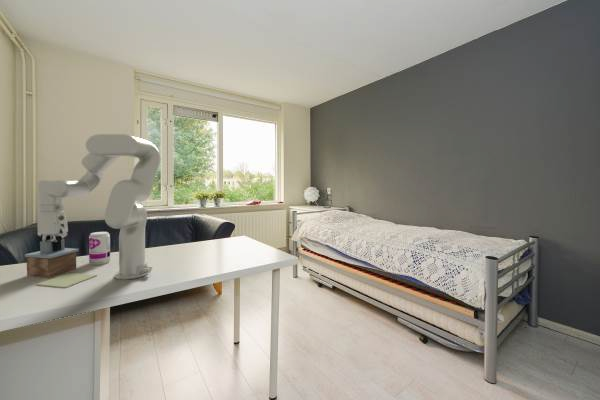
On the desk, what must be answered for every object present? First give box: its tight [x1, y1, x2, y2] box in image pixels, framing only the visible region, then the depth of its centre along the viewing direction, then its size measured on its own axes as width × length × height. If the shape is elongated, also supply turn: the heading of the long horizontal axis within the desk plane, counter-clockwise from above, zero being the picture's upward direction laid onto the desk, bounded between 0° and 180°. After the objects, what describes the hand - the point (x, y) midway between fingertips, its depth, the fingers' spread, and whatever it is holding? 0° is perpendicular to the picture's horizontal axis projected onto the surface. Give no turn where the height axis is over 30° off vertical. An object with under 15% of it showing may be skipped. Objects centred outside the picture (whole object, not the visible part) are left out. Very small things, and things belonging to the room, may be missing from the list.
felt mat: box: [35, 272, 97, 289], centre depth 104 cm, size 13×13×1 cm
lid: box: [24, 238, 80, 259], centre depth 110 cm, size 12×12×7 cm
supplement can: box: [88, 231, 111, 266], centre depth 126 cm, size 8×8×15 cm
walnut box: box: [25, 252, 77, 279], centre depth 111 cm, size 11×11×8 cm
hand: (52, 249), depth 111 cm, fingers closed on lid, 3 cm apart
